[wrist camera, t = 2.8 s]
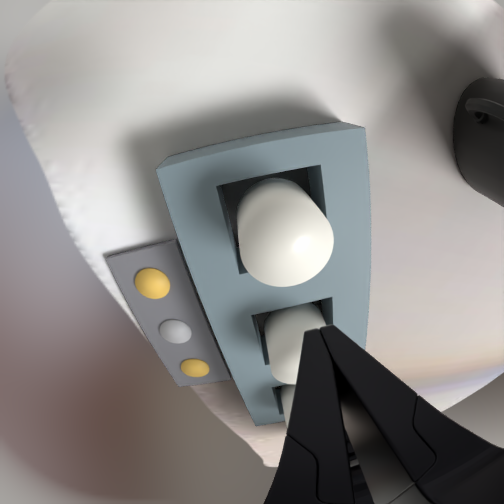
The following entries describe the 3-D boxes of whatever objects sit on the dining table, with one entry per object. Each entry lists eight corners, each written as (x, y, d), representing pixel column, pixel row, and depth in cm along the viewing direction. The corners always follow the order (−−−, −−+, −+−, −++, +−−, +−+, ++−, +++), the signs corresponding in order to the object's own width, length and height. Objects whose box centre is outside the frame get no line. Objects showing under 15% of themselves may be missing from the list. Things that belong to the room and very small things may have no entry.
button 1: (315, 239, 16) (335, 275, 13) (245, 255, 16) (250, 295, 13) (306, 171, 14) (329, 193, 11) (228, 187, 14) (229, 214, 11)
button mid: (323, 336, 20) (337, 375, 17) (269, 349, 20) (276, 389, 17) (320, 294, 18) (337, 334, 15) (258, 308, 18) (265, 351, 15)
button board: (349, 379, 27) (357, 402, 24) (253, 401, 27) (255, 426, 25) (342, 121, 15) (364, 127, 12) (167, 157, 15) (155, 169, 13)
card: (231, 376, 25) (231, 381, 24) (179, 383, 25) (178, 388, 24) (176, 239, 18) (174, 243, 17) (107, 256, 18) (105, 260, 17)
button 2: (325, 392, 24) (335, 424, 21) (282, 402, 24) (289, 435, 21) (324, 368, 22) (336, 403, 19) (276, 379, 22) (283, 416, 19)
